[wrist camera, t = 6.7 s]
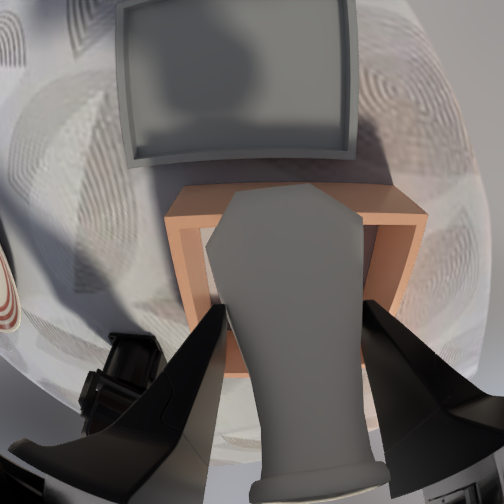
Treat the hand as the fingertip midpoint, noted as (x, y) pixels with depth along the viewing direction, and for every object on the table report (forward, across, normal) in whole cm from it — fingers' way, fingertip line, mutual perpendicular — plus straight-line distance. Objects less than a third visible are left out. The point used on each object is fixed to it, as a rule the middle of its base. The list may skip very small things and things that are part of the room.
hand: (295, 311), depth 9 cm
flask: (+4, 0, 0) cm, 4 cm away
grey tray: (+13, +2, -9) cm, 16 cm away
